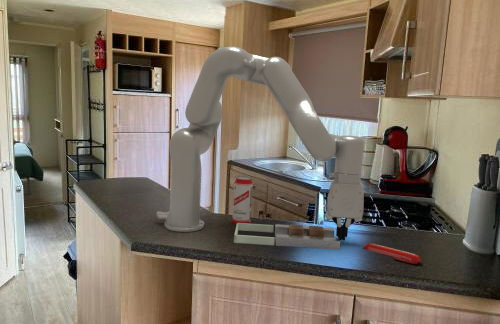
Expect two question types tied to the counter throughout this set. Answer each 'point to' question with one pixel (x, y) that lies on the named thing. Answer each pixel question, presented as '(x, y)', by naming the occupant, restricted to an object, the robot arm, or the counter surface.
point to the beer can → (242, 200)
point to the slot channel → (306, 238)
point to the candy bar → (394, 253)
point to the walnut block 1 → (296, 230)
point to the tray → (254, 238)
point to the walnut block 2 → (316, 231)
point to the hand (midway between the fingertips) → (341, 238)
